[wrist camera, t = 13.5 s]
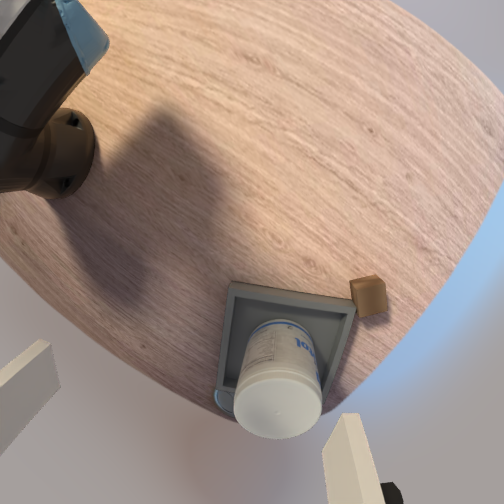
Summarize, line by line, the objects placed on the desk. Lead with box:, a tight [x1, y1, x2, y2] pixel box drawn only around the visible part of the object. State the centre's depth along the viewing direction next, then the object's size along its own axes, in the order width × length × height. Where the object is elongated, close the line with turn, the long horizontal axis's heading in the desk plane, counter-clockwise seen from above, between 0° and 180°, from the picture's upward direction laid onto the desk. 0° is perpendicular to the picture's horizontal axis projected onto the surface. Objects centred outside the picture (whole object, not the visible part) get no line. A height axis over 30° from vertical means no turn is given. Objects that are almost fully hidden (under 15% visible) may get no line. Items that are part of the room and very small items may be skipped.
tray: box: [216, 281, 356, 404], centre depth 40 cm, size 17×17×3 cm
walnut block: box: [349, 275, 387, 318], centre depth 37 cm, size 4×4×4 cm
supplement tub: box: [233, 319, 322, 439], centre depth 34 cm, size 10×10×15 cm
